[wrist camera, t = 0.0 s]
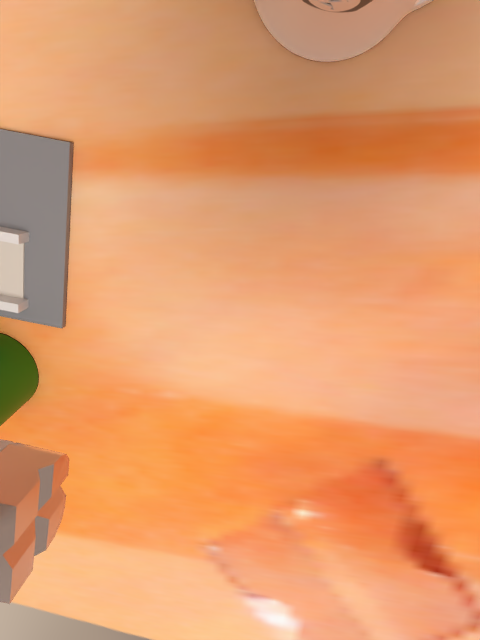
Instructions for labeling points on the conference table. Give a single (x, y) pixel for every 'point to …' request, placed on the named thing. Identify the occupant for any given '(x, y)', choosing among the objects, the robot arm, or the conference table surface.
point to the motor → (15, 376)
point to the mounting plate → (34, 227)
